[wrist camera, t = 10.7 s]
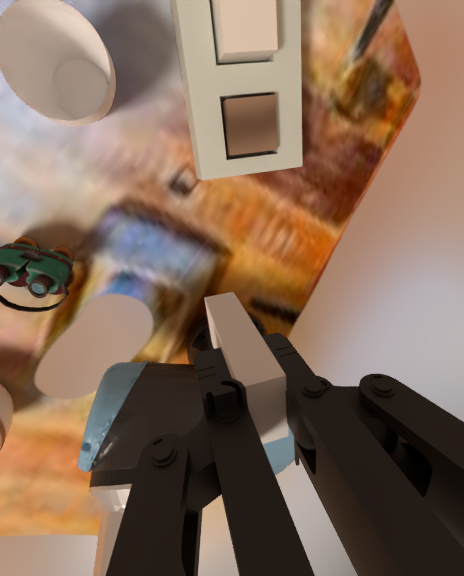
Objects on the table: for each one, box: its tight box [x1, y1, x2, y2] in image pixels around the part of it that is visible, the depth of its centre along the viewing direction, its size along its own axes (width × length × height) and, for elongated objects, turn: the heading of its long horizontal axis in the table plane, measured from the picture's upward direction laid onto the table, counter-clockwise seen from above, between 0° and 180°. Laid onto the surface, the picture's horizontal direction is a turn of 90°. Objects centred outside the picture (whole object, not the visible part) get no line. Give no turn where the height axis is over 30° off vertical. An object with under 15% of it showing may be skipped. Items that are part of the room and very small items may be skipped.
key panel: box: [170, 0, 302, 180], centre depth 36 cm, size 31×14×5 cm, turn 7°
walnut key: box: [221, 95, 278, 156], centre depth 38 cm, size 6×6×4 cm
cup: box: [0, 0, 116, 126], centre depth 31 cm, size 9×9×12 cm
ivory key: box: [211, 0, 278, 64], centre depth 33 cm, size 6×6×4 cm
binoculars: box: [0, 237, 73, 312], centre depth 38 cm, size 9×10×10 cm
